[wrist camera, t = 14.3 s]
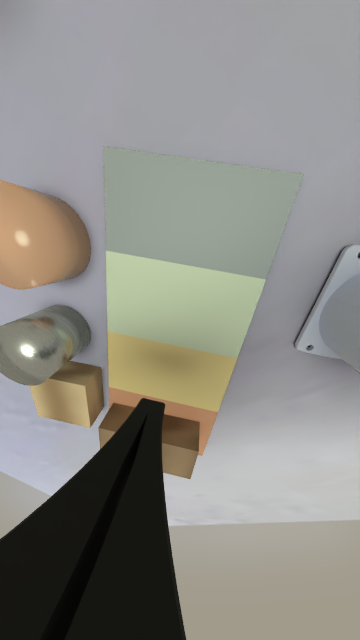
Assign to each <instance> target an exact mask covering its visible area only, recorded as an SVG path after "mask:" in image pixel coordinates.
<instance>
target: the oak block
mask: <svg viewBox="0 0 360 640" xmlns="http://www.w3.org/2000/svg"><path fill="white" fill-rule="evenodd" d="M30 389H31V393H32V396H33V399H34V402H35V406H36V409H37V412H38V415H39V416H41V417H45V418H50V419H54V420H58V421H63V422H67V423H71V424H76V425H80V426H84V427H89V428H91V426H92V425H93V423H94V422H95V420H96V418H97V417H98V415H99V414H100V412H101V410H102V409H103V407H104V399H103V386H102V372H101V367H97V366H92V365H87V364H82V363H77V362H72V361H68V362H67V363H66V364H65V365H64V366H62V367H61V368H60V369H59V370H58V371H56V372H55V373H54V374H53V375H52V376H51V377H49V378H48V379H47V380H46V381H45V382H43V383H42V384H39V385H35V386H30Z"/></svg>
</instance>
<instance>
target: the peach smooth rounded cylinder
mask: <svg viewBox="0 0 360 640" xmlns="http://www.w3.org/2000/svg"><path fill="white" fill-rule="evenodd" d="M90 254H91V245H90V239H89V235H88V232H87V229H86V227H85V225H84V223H83V221H82V220H81V218H80V217H79V215H78V214H77V213H76V212H75V211H74V210H73V209H72V208H71V207H70V206H69V205H68V204H66V203H65V202H64V201H62V200H60V199H58V198H55V197H53V196H49V195H46V194H43V193H40V192H37V191H34V190H31V189H28V188H25V187H21V186H18V185H15V184H12V183H9V182H6V181H3V180H0V284H2V285H5V286H7V287H10V288H14V289H30V288H34V287H38V286H42V285H46V284H50V283H54V282H59V281H63V280H67V279H71V278H74V277H77V276H78V275H80V274H81V273H82V272H83V271H84V270H85V269H86V267H87V265H88V263H89V260H90Z"/></svg>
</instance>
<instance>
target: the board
mask: <svg viewBox="0 0 360 640" xmlns="http://www.w3.org/2000/svg"><path fill="white" fill-rule="evenodd" d="M303 176H304V174H297V173H290V172H283V171H276V170H269V169H262V168H255V167H247V166H240V165H233V164H226V163H219V162H212V161H205V160H197V159H190V158H183V157H176V156H169V155H162V154H155V153H147V152H140V151H133V150H126V149H119V148H112V147H105V146H104V190H105V234H106V279H107V323H108V367H109V409H110V407H111V406H112V404H113V403H118V404H122V405H126V406H131V407H136V406H137V404H138V403H139V401H140V400H141V399H142V398H146V399H150V400H154V401H159V402H163V403H164V404H165V411H164V414H166V415H171V416H175V417H180V418H184V419H189V420H193V421H197V422H200V429H199V452H198V455H200V456H202V455H203V452H204V449H205V447H206V444H207V441H208V438H209V436H210V433H211V430H212V427H213V424H214V422H215V419H216V416H217V413H218V411H219V408H220V405H221V402H222V400H223V397H224V394H225V391H226V389H227V386H228V383H229V380H230V378H231V375H232V372H233V369H234V367H235V364H236V361H237V358H238V356H239V353H240V350H241V347H242V344H243V342H244V339H245V336H246V333H247V331H248V328H249V325H250V322H251V320H252V317H253V314H254V311H255V309H256V306H257V303H258V300H259V298H260V295H261V292H262V289H263V287H264V284H265V281H266V278H267V276H268V273H269V270H270V267H271V264H272V262H273V259H274V256H275V253H276V251H277V248H278V245H279V242H280V240H281V237H282V234H283V231H284V229H285V226H286V223H287V220H288V218H289V215H290V212H291V209H292V207H293V204H294V201H295V198H296V195H297V193H298V190H299V187H300V184H301V182H302V179H303Z"/></svg>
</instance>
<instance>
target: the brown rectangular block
mask: <svg viewBox="0 0 360 640" xmlns="http://www.w3.org/2000/svg"><path fill="white" fill-rule="evenodd" d="M134 409H135V407H131V406H126V405H122V404H118V403H113V404H112V406H111V407H110V409H109V411H108V413H107V414H106V416H105V418H104V419H103V421H102V423H101V424H100V426H99V439H100V449H101V448H102V447H103V446H104V445H105V444H106V443H107V441H108V440H109V439H110V438H111V437H112V436H113V435H114V434H115V432H116V431H117V430H118V429H119V428H120V426H121V425H122V424H123V423H124V422H125V420H126V419H127V418H128V417H129V415H130V414H131V413H132V411H133V410H134ZM199 429H200V422H197V421H193V420H189V419H184V418H180V417H175V416H171V415H166V414H164V417H163V424H162V464H163V472H164V473H168V474H172V475H176V476H180V477H184V478H188V479H190V478H191V475H192V472H193V468H194V465H195V462H196V459H197V456H198V452H199Z"/></svg>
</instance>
